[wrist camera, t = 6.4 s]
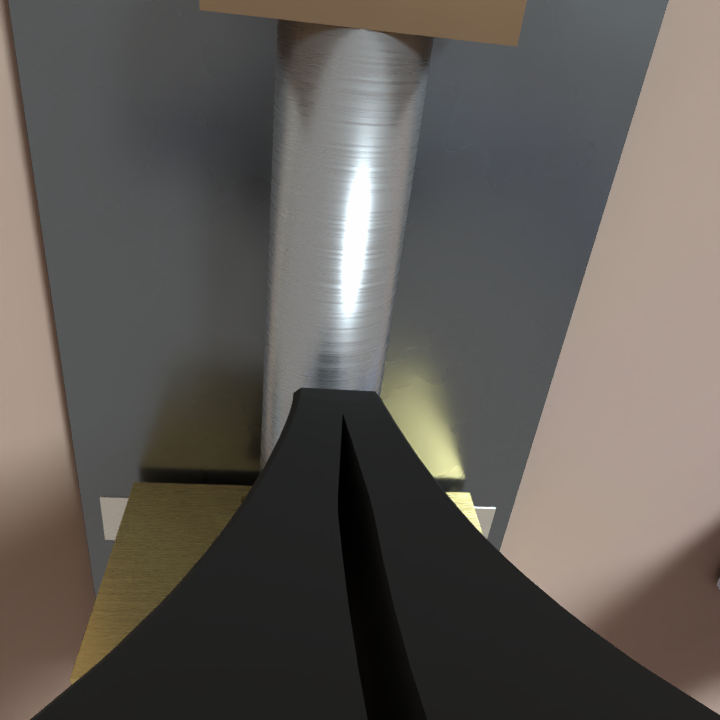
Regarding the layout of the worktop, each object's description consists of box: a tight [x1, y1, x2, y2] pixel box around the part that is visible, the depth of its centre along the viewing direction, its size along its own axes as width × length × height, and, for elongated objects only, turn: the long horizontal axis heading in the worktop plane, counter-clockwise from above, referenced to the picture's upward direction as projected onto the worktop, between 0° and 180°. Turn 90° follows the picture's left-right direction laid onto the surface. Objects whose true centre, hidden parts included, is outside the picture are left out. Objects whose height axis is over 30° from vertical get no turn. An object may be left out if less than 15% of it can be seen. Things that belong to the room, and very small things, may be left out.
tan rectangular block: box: [70, 482, 483, 685], centre depth 16 cm, size 9×4×6 cm, turn 84°
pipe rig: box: [8, 0, 668, 598], centre depth 15 cm, size 12×22×4 cm, turn 174°
